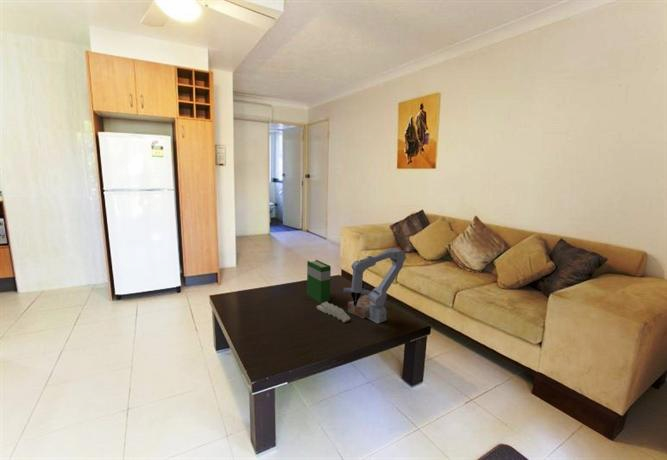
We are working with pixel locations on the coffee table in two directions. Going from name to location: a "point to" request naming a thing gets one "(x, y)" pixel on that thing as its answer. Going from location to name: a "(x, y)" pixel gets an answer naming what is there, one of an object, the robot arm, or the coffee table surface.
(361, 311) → the stack of blocks
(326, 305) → the domino
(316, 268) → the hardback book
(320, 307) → the domino
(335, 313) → the domino
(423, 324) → the coffee table surface
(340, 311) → the domino
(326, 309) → the domino
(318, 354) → the coffee table surface
